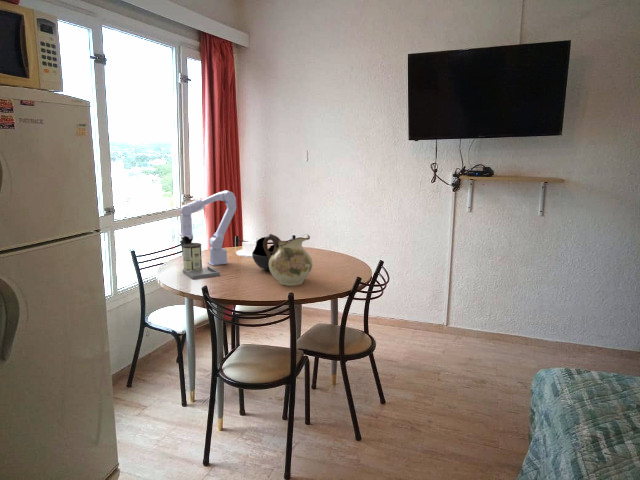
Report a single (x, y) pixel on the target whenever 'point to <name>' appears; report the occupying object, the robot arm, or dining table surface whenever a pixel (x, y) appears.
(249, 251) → the dish
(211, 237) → the robot arm
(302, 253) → the pitcher
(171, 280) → the dining table surface
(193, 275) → the tray
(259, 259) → the bowl of black rocks
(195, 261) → the coffee can
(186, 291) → the dining table surface
